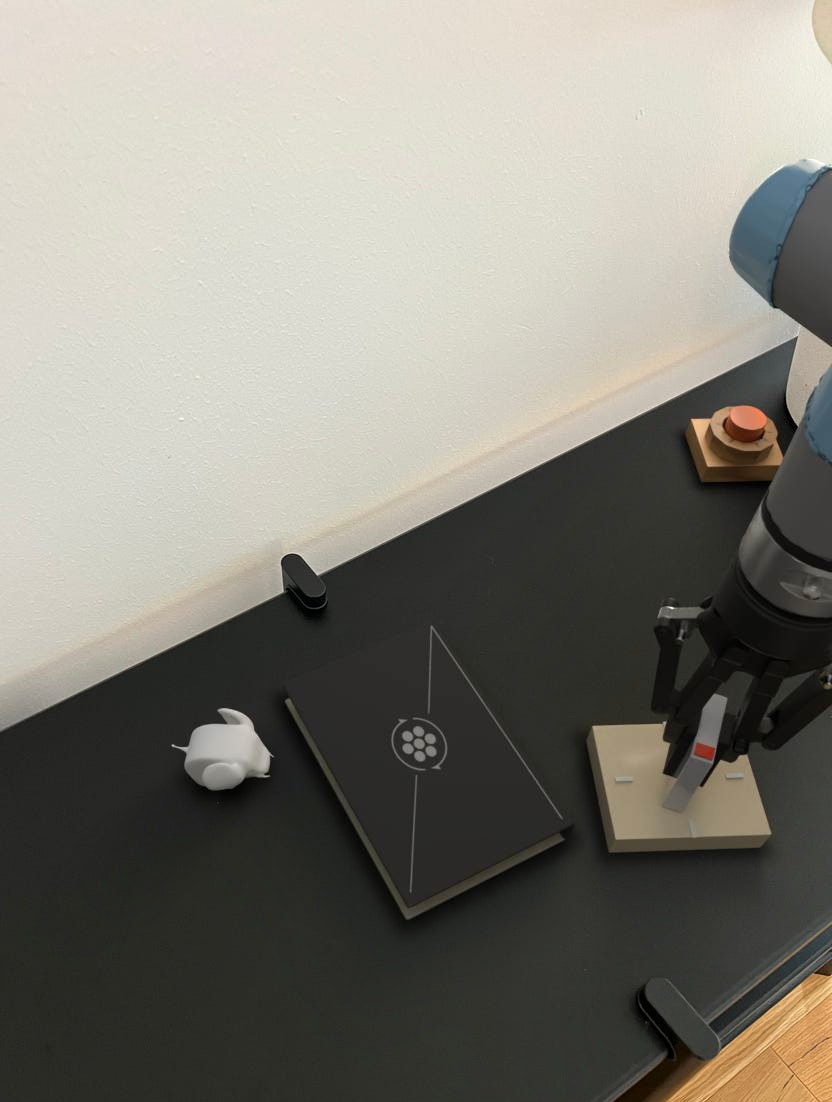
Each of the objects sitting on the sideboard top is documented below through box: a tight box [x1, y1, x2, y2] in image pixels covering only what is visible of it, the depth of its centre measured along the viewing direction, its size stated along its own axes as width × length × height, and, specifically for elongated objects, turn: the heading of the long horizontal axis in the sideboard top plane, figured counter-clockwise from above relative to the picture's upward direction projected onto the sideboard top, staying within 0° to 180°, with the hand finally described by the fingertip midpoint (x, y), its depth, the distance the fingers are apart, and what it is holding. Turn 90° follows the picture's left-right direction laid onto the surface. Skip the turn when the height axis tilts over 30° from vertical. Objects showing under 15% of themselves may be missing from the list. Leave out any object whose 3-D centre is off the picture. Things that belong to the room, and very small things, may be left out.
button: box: [725, 405, 767, 443], centre depth 98 cm, size 4×4×2 cm
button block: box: [684, 406, 784, 483], centre depth 100 cm, size 8×7×4 cm
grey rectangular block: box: [662, 693, 728, 813], centre depth 74 cm, size 6×2×8 cm, turn 158°
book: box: [282, 620, 576, 922], centre depth 80 cm, size 22×15×3 cm
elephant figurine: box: [171, 707, 275, 791], centre depth 78 cm, size 7×8×6 cm
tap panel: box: [585, 720, 772, 854], centre depth 78 cm, size 12×10×3 cm
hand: (686, 765), depth 76 cm, fingers closed on grey rectangular block, 2 cm apart
